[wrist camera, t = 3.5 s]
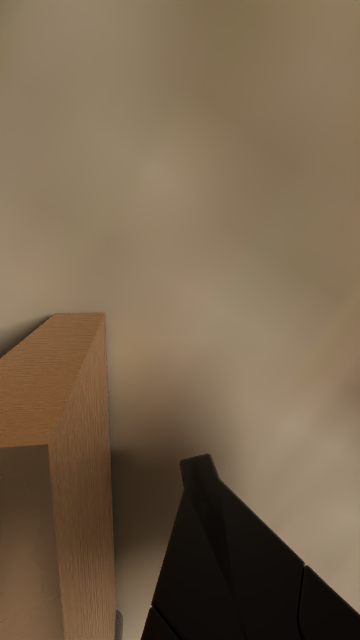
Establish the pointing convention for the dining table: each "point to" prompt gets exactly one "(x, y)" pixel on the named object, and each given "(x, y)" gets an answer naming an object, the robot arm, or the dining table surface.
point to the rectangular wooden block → (57, 485)
